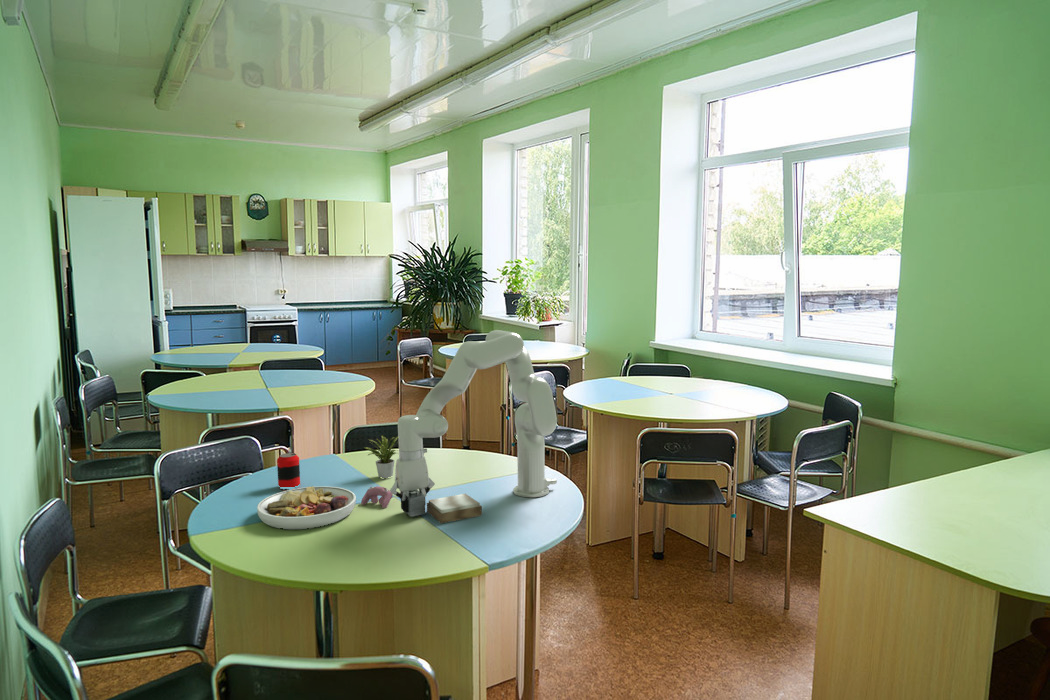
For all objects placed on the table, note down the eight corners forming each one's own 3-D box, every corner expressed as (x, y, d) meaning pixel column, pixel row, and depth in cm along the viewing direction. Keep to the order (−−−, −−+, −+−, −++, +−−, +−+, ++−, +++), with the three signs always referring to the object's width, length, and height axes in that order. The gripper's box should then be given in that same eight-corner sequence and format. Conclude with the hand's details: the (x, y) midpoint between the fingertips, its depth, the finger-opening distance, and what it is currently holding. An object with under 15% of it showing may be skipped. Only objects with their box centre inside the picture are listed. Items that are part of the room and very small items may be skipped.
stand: (466, 504, 222) (466, 492, 222) (481, 515, 212) (481, 503, 211) (426, 511, 216) (426, 499, 215) (441, 523, 205) (440, 511, 205)
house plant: (388, 468, 265) (387, 428, 263) (413, 474, 257) (412, 433, 255) (360, 477, 253) (358, 435, 252) (385, 484, 245) (384, 440, 243)
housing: (416, 506, 218) (415, 485, 217) (425, 513, 211) (424, 492, 210) (402, 509, 215) (401, 488, 215) (410, 516, 209) (409, 495, 208)
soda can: (302, 488, 241) (301, 455, 240) (281, 491, 237) (279, 459, 236) (297, 482, 248) (295, 451, 246) (276, 486, 243) (274, 454, 242)
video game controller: (391, 510, 222) (396, 489, 224) (383, 508, 218) (388, 486, 220) (366, 506, 226) (372, 485, 228) (359, 504, 222) (364, 483, 224)
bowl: (236, 526, 205) (235, 501, 204) (300, 496, 233) (299, 474, 232) (317, 538, 195) (316, 512, 194) (374, 505, 223) (373, 483, 222)
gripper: (431, 447, 218) (434, 501, 221) (381, 455, 210) (384, 511, 212) (440, 452, 212) (442, 508, 214) (388, 461, 204) (391, 518, 206)
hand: (413, 509), depth 213 cm, fingers closed on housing, 5 cm apart
